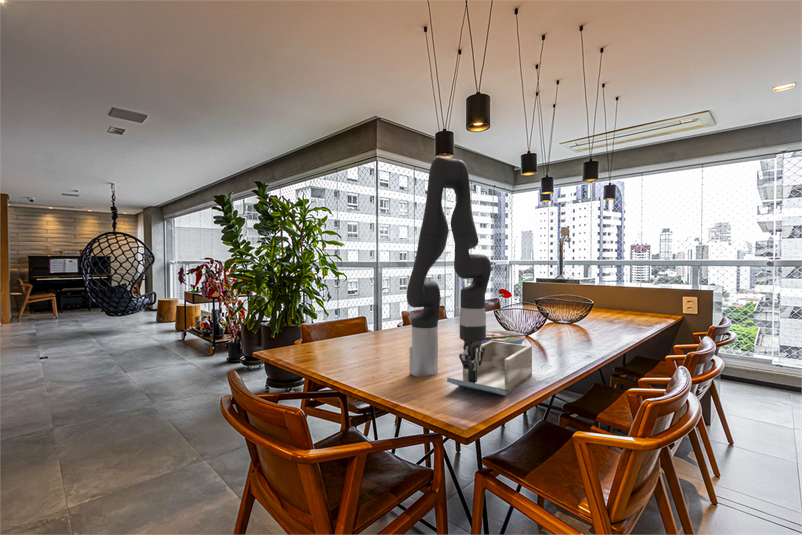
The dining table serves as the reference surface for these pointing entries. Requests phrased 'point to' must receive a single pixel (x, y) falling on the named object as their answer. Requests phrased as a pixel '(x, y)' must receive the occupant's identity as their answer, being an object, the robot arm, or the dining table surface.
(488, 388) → the grey panel
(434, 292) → the robot arm
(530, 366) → the crate
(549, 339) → the dining table surface
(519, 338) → the ramen bowl
